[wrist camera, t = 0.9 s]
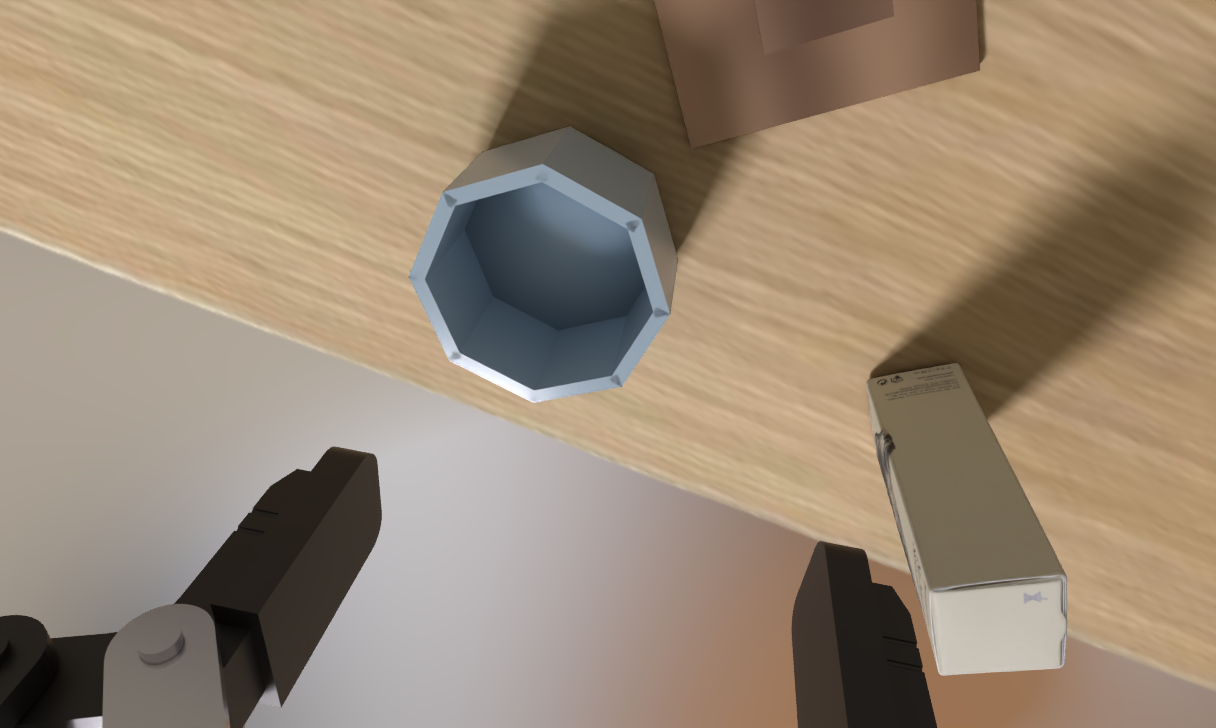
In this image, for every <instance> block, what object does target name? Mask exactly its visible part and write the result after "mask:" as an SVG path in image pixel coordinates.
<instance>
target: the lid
mask: <svg viewBox="0 0 1216 728" xmlns="http://www.w3.org/2000/svg"><path fill="white" fill-rule="evenodd" d="M654 3H655V7H656V11H657V15H658V19H659V23H660V27H661V31H662V35H663V39H664V43H665V47H666V51H667V55H668V59H669V62H670V66H671V70H672V74H673V78H674V82H675V86H676V90H677V94H678V98H679V102H680V106H681V110H682V114H683V118H684V122H685V126H686V130H687V134H688V138H689V142H690V146H691V149H693V148H697V147H700V146H704V145H708V144H711V143H715V142H719V141H722V140H726V139H730V138H733V137H737V136H741V135H744V134H748V133H752V132H755V131H759V130H763V129H766V128H770V127H774V126H777V125H781V124H785V123H788V122H792V121H796V120H799V119H803V118H807V117H810V116H814V115H818V114H822V113H825V112H829V111H833V110H836V109H840V108H844V107H847V106H851V105H855V104H858V103H862V102H866V101H869V100H873V99H877V98H880V97H884V96H888V95H891V94H895V93H899V92H902V91H906V90H910V89H913V88H917V87H921V86H924V85H928V84H932V83H935V82H939V81H943V80H946V79H950V78H954V77H957V76H961V75H965V74H968V73H972V72H976V71H979V70H980V61H979V42H978V23H977V4H976V0H654Z"/></svg>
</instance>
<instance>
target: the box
mask: <svg viewBox="0 0 1216 728" xmlns="http://www.w3.org/2000/svg"><path fill="white" fill-rule="evenodd" d="M866 386H867V395H868V403H869V412H870V419H871V426H872V432H873V437H874V442H875V447H876V453H877V457H878V461H879V464H880V468H881V471H882V475H883V478H884V482H885V485H886V488H887V493H888V496H889V499H890V503H891V506H892V509H893V513H894V517H895V520H896V524H897V528H898V531H899V534H900V538H901V541H902V545H903V547H904V551H905V555H906V558H907V561H908V565H909V569H910V572H911V575H912V579H913V582H914V585H915V588H916V592H917V595H918V598H919V601H920V605H921V608H922V612H923V615H924V619H925V623H926V626H927V630H928V634H929V637H930V641H931V645H932V648H933V652H934V656H935V660H936V664H937V668H938V671H939V673H940V674H941V675H954V674H970V673H987V672H1008V671H1023V670H1037V669H1052V668H1053V669H1054V668H1061V667H1062V666H1063V665H1064V663H1065V654H1066V637H1067V577H1066V574H1065V572H1064V570H1063V568H1062V566H1061V564H1060V562H1059V560H1058V558H1057V556H1056V554H1055V552H1054V550H1053V548H1052V546H1051V544H1050V542H1049V540H1048V538H1047V536H1046V534H1045V532H1044V530H1043V528H1042V526H1041V524H1040V522H1039V520H1038V518H1037V516H1036V514H1035V512H1034V510H1033V508H1032V507H1031V505H1030V502H1029V500H1028V498H1027V497H1026V495H1025V493H1024V491H1023V489H1022V487H1021V485H1020V483H1019V481H1018V479H1017V477H1016V475H1015V473H1014V471H1013V469H1012V467H1011V465H1010V464H1009V462H1008V460H1007V458H1006V456H1005V454H1004V452H1003V450H1002V448H1001V446H1000V444H999V442H998V440H997V438H996V436H995V434H994V432H993V430H992V428H991V426H990V425H989V423H988V421H987V419H986V417H985V415H984V413H983V411H982V409H981V407H980V405H979V403H978V401H977V399H976V397H975V395H974V393H973V391H972V389H971V387H970V385H969V383H968V381H967V379H966V377H965V375H964V373H963V371H962V368H961V366H960V365H959V364H958V363H953V364H948V365H942V366H935V367H930V368H924V369H919V370H913V371H908V372H903V373H897V374H892V375H887V376H882V377H877V378H872V379H869V380H868V381H867V382H866Z"/></svg>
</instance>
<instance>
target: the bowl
mask: <svg viewBox="0 0 1216 728" xmlns="http://www.w3.org/2000/svg"><path fill="white" fill-rule="evenodd" d="M677 263H678V258H677V254H676V251H675V247H674V244H673V240H672V236H671V233H670V229H669V226H668V222H667V219H666V215H665V211H664V208H663V204H662V201H661V197H660V194H659V190H658V186H657V183H656V179H655V176H654V174H653V173H651V172H650V171H648V170H646V169H644V168H643V167H641V166H639V165H637V164H636V163H634V162H632V161H630V160H629V159H627V158H625V157H624V156H622V155H621V154H619V153H618V152H616V151H615V150H613V149H611V148H609V147H607V146H605V145H603V144H601V143H599V142H597V141H595V140H593V139H592V138H590V137H588V136H586V135H585V134H583V133H581V132H579V131H577V130H576V129H574V128H572V127H570V126H569V127H565V128H562V129H558V130H555V131H552V132H548V133H545V134H541V135H538V136H535V137H531V138H528V139H524V140H521V141H517V142H514V143H511V144H507V145H504V146H500V147H497V148H494V149H490V150H487V151H483V152H482V153H481V154H480V155H479V156H478V157H477V158H476V159H475V160H474V161H473V162H472V163H471V164H470V165H469V166H468V167H467V168H466V169H465V170H464V171H463V172H462V173H461V174H460V175H459V176H458V177H457V178H456V179H455V180H454V181H453V182H452V183H451V184H450V185H449V186H448V187H447V188H446V189H445V190H444V191H443V192H442V195H441V197H440V200H439V202H438V205H437V207H436V210H435V212H434V215H433V217H432V220H431V222H430V225H429V227H428V230H427V232H426V235H425V237H424V240H423V242H422V245H421V247H420V250H419V252H418V255H417V257H416V260H415V262H414V265H413V267H412V270H411V272H410V275H409V278H410V281H411V283H412V285H413V287H414V289H415V291H416V293H417V295H418V297H419V299H420V301H421V303H422V305H423V307H424V309H425V312H426V314H427V316H428V318H429V320H430V322H431V324H432V326H433V328H434V330H435V332H436V334H437V336H438V338H439V340H440V342H441V345H442V347H443V349H444V351H445V353H446V355H447V357H448V359H449V361H451V362H453V363H455V364H457V365H459V366H461V367H463V368H465V369H467V370H469V371H471V372H473V373H475V374H477V375H479V376H481V377H483V378H485V379H487V380H489V381H491V382H493V383H495V384H497V385H499V386H501V387H503V388H505V389H507V390H509V391H511V392H513V393H515V394H517V395H519V396H521V397H523V398H525V399H527V400H529V401H531V402H533V403H536V402H541V401H546V400H552V399H557V398H563V397H568V396H574V395H579V394H585V393H590V392H595V391H601V390H606V389H612V388H617V387H622V386H623V384H624V383H625V381H626V380H627V378H628V377H629V375H630V374H631V372H632V371H633V369H634V368H635V366H636V365H637V363H638V362H639V360H640V359H641V357H642V356H643V354H644V353H645V351H646V350H647V348H648V347H649V345H650V344H651V342H652V341H653V339H654V338H655V336H656V335H657V333H658V332H659V330H660V329H661V327H662V326H663V324H664V323H665V321H666V320H667V318H668V317H669V315H670V313H671V306H672V299H673V291H674V284H675V277H676V270H677Z"/></svg>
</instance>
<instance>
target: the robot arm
mask: <svg viewBox="0 0 1216 728" xmlns="http://www.w3.org/2000/svg"><path fill="white" fill-rule="evenodd" d="M381 520H382V510H381V499H380V487H379V476H378V465H377V459H376V457H375V455H374V454H370V453H366V452H360V451H355V450H350V449H345V448H339V447H331V448H330V449H328V450H327V451H326V453H325V454H324V455H323V456H322V458H321V459H320V460H319V462H318V463H317V464H316V466H315V467H314V468H313V469H312V471H311V472H310V471H305V470H300V469H296V470H295V471H294V472H292V473H290V474H289V475H287V476H286V477H284V478H282V479H281V480H279V481H278V482H276V483H275V484H273V485H272V486H270V488H269V489H268V490H267V491H266V492H265V494H264V495H263V496H262V497H261V499H260V500H259V501H258V502H257V504H256V505H255V506H254V507H253V510H252V512H251V513H248V515H247V516H246V517H245V518H244V519H243V521H242V522H241V523H240V524H239V526H238V529H237V531H234V532H233V533H232V534H231V535H230V537H229V538H228V539H227V540H226V542H225V543H224V544H223V545H222V547H221V548H220V549H219V550H218V551H217V553H216V554H215V555H214V556H213V558H212V559H211V560H210V561H209V562H208V564H207V565H206V566H205V567H204V569H203V570H202V571H201V572H200V574H199V575H198V576H197V577H196V578H195V580H194V581H193V582H192V583H191V585H190V586H189V587H188V588H187V589H186V591H185V592H184V593H183V594H182V596H181V597H180V598H179V599H178V600H177V601H176V602H175V603H174V604H172V605H166V606H162V607H158V608H155V609H152V610H150V611H148V612H145V613H143V614H141V615H140V616H138V617H136V618H134V619H133V620H132V621H130V622H129V623H128V624H126V625H125V626H124V627H123V628H122V629H121V630H120V631H119V632H115V633H107V634H96V635H85V636H74V637H63V638H50V637H49V635H48V633H47V631H46V629H45V627H44V625H43V624H41V622H39V621H38V620H36V619H34V618H32V617H28V616H21V615H10V616H2V617H0V728H245V725H244V724H245V723H246V721H247V720H248V718H249V716H250V715H251V713H252V711H253V710H254V708H255V706H256V704H257V703H262V704H266V705H271V706H275V707H280V708H281V707H282V705H283V704H284V702H285V700H286V698H287V697H288V695H289V693H290V691H291V690H292V688H293V686H294V684H295V683H296V681H297V679H298V677H299V676H300V674H301V672H302V670H303V669H304V667H305V665H306V664H307V662H308V660H309V658H310V657H311V655H312V653H313V651H314V650H315V648H316V646H317V644H318V643H319V641H320V639H321V638H322V636H323V634H324V632H325V631H326V629H327V627H328V625H329V624H330V622H331V620H332V618H333V617H334V615H335V613H336V611H337V610H338V608H339V606H340V604H341V603H342V601H343V599H344V597H345V596H346V594H347V592H348V590H349V589H350V587H351V585H352V584H353V582H354V580H355V578H356V577H357V575H358V573H359V571H360V570H361V568H362V566H363V564H364V563H365V561H366V559H367V558H368V556H369V554H370V552H371V551H372V549H373V547H374V545H375V543H376V540H377V537H378V534H379V531H380V526H381ZM916 644H917V640H916V636H915V632H914V628H913V624H912V619H911V615H910V613H909V611H908V610H907V608H906V607H905V605H904V604H903V603H902V601H901V599H900V598H899V596H898V595H897V593H896V592H895V590H894V589H893V587H892V586H887V585H882V584H877V583H872V580H871V574H870V570H869V564H868V559H867V555H866V553H865V551H864V550H863V549H859V548H853V547H848V546H843V545H838V544H833V543H827V542H822V541H820V542H818V544H817V545H816V547H815V549H814V552H813V555H812V557H811V560H810V563H809V565H808V568H807V571H806V573H805V576H804V578H803V581H802V584H801V586H800V589H799V591H798V594H797V597H796V600H795V604H794V610H793V616H792V645H793V660H794V674H795V690H796V704H797V719H798V728H937V724H936V720H935V716H934V712H933V708H932V703H931V699H930V695H929V691H928V687H927V682H926V678H925V674H924V672H922V667H923V666H922V661H921V658H920V653H919V649H918V648H917V647H916Z"/></svg>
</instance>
